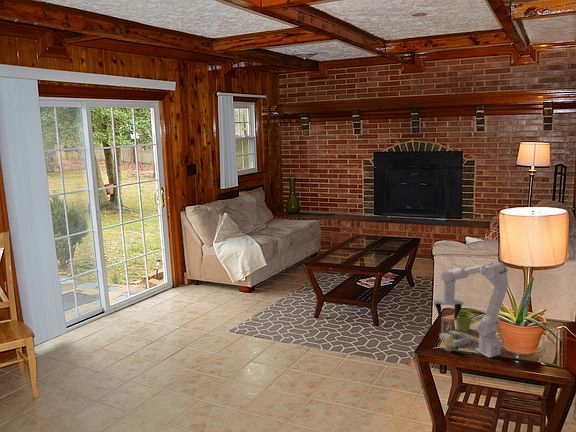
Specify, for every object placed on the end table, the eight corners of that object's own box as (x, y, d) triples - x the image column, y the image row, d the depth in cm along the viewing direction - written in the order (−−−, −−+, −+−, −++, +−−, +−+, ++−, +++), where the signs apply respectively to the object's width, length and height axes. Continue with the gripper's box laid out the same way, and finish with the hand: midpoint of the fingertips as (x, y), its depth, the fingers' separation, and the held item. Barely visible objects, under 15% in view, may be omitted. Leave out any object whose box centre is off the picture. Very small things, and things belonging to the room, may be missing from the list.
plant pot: (475, 333, 267) (475, 317, 265) (456, 333, 267) (457, 317, 265) (469, 326, 276) (469, 310, 274) (451, 326, 276) (452, 311, 275)
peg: (454, 351, 248) (455, 337, 247) (448, 353, 247) (449, 339, 245) (449, 348, 251) (449, 334, 250) (443, 349, 250) (443, 336, 248)
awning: (457, 336, 264) (458, 317, 262) (446, 338, 261) (447, 320, 259) (451, 332, 268) (451, 314, 266) (440, 335, 265) (441, 317, 263)
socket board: (470, 342, 256) (470, 338, 256) (454, 347, 252) (454, 342, 252) (454, 334, 266) (454, 330, 266) (439, 338, 262) (439, 333, 262)
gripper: (461, 290, 263) (460, 315, 265) (432, 289, 264) (431, 314, 267) (465, 295, 256) (463, 320, 259) (435, 294, 257) (434, 320, 260)
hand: (447, 318), depth 262 cm, fingers open, 7 cm apart
